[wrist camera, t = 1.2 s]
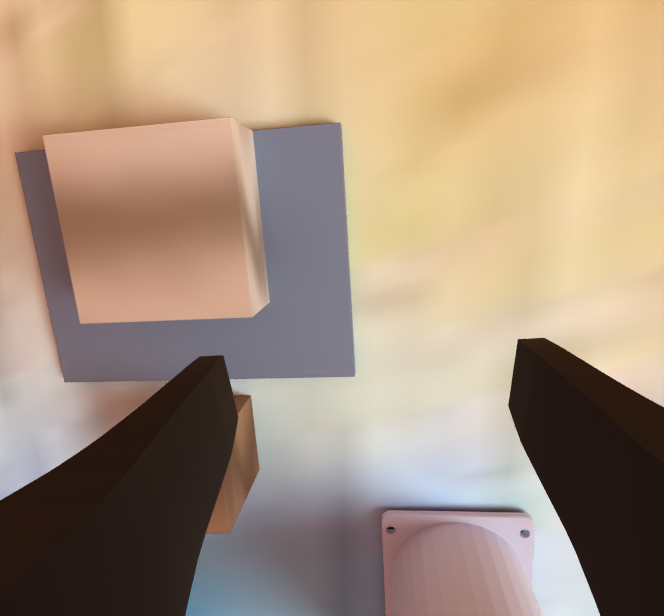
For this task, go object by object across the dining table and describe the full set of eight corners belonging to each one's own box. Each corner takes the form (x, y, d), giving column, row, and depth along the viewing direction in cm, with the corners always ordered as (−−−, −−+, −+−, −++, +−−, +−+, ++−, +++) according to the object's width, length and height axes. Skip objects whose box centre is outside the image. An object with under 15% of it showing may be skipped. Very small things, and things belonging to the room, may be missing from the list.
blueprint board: (355, 372, 22) (350, 402, 19) (72, 378, 24) (20, 406, 21) (341, 125, 20) (332, 107, 16) (24, 154, 22) (-44, 143, 18)
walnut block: (259, 469, 24) (229, 534, 19) (184, 468, 25) (136, 531, 20) (251, 395, 23) (216, 444, 18) (172, 396, 24) (119, 444, 19)
